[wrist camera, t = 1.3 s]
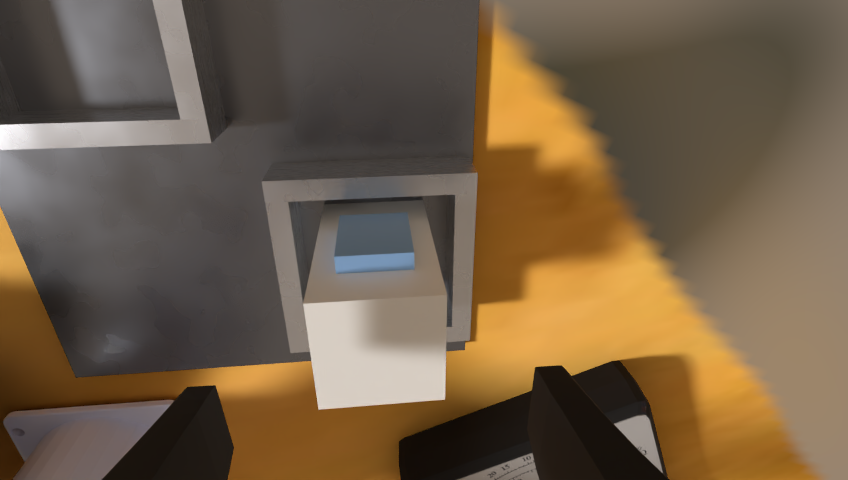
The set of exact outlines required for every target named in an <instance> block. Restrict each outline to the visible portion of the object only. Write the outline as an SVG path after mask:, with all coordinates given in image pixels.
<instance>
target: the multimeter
mask: <svg viewBox="0 0 848 480" xmlns="http://www.w3.org/2000/svg"><path fill="white" fill-rule="evenodd" d="M572 378H573V379H574V380H575V381H576V382H577V383H578V384H579V386H580V387H581V388H582V389H583V390H584V391H585V393H586V394H587V395H588V396H589V397H590V398H591V399H592V401H593V402H594V403H595V404H596V405H597V406H598V407H599V408H600V409H601V411H602V412H603V413H604V414H605V415H606V416H607V417H608V418H609V419H610V420H611V422H612V423H613V424H614V425H615V426H616V427H617V428H618V429H619V430H620V431H621V432H622V433H623V434H624V435H625V436H626V437H627V438H628V439H629V440H630V441H631V442H632V444H633V445H634V446H635V447H636V448H637V449H638V450H639V451H640V452H641V453H642V454H643V455H644V456H645V457H646V458H647V459H648V460H649V461H650V462H651V463H652V464H654V465H655V466H656V467H657V468H658V469H659V470H660V471H661V472H662V473H663V474H664V475H665V476H666V477H667V473H666V469H665V465H664V461H663V457H662V453H661V448H660V444H659V440H658V436H657V432H656V428H655V424H654V420H653V416H652V412H651V408H650V405H649V403H648V401H647V399H646V397H645V396H644V394H643V392H642V391H641V389H640V387H639V385H638V384H637V382H636V381H635V380H634V378H633V377H632V376H631V374H630V373H629V372H628V371H627V369H626V368H625V367H624V366H623V365H622V363H621V362H620V361H611V362H609V363H606V364H603V365H600V366H598V367H595V368H592V369H590V370H587V371H584V372H581V373H579V374H576V375H573V376H572ZM531 395H532V391H530V392H527V393H525V394H522V395H519V396H516V397H514V398H511V399H508V400H506V401H503V402H500V403H497V404H495V405H492V406H489V407H487V408H484V409H481V410H478V411H476V412H473V413H470V414H468V415H465V416H462V417H459V418H457V419H454V420H451V421H449V422H446V423H443V424H441V425H438V426H435V427H432V428H430V429H427V430H424V431H422V432H419V433H416V434H413V435H411V436H408V437H405V438H404V439H402V440H401V441H399V468H400V475H401V480H539V477H538V474H537V470H536V466H535V462H534V458H533V454H532V449H531V445H530V440H529V436H528V431H527V425H528V417H529V410H530V402H531ZM667 478H668V477H667Z"/></svg>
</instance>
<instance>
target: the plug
mask: <svg viewBox="0 0 848 480" xmlns="http://www.w3.org/2000/svg"><path fill="white" fill-rule="evenodd" d="M303 306H304V313H305V320H306V327H307V334H308V341H309V348H310V354H311V361H312V368H313V375H314V382H315V389H316V396H317V403H318V410H321V409H333V408H346V407H358V406H371V405H383V404H396V403H408V402H421V401H433V400H445V382H446V329H447V292H446V289H445V285H444V281H443V277H442V273H441V269H440V265H439V261H438V257H437V253H436V249H435V245H434V241H433V238H432V234H431V230H430V226H429V222H428V218H427V214H426V210H425V206H424V202H423V200H414V201H392V202H369V203H346V204H324V208H323V212H322V217H321V222H320V226H319V231H318V236H317V241H316V245H315V250H314V255H313V260H312V264H311V269H310V274H309V279H308V283H307V288H306V293H305V297H304V302H303Z"/></svg>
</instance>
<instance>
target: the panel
mask: <svg viewBox="0 0 848 480" xmlns="http://www.w3.org/2000/svg"><path fill="white" fill-rule="evenodd" d="M478 19H479V0H0V207H1V209H2V211H3V213H4V216H5V218H6V220H7V222H8V225H9V227H10V229H11V231H12V234H13V236H14V238H15V241H16V243H17V245H18V247H19V250H20V252H21V254H22V256H23V259H24V261H25V263H26V265H27V268H28V270H29V272H30V275H31V277H32V279H33V281H34V284H35V286H36V288H37V290H38V293H39V295H40V297H41V299H42V302H43V304H44V306H45V309H46V311H47V313H48V315H49V318H50V320H51V322H52V324H53V327H54V329H55V331H56V333H57V336H58V338H59V340H60V343H61V345H62V347H63V349H64V352H65V354H66V356H67V358H68V361H69V363H70V365H71V368H72V370H73V372H74V374H75V377H76V378H77V377H91V376H105V375H119V374H133V373H147V372H161V371H175V370H189V369H203V368H217V367H231V366H245V365H259V364H273V363H287V362H302V361H311V354H310V348H309V341H308V334H307V327H306V320H305V313H304V306H303V302H304V297H305V293H306V288H307V283H308V279H309V274H310V269H311V264H312V260H313V255H314V250H315V245H316V241H317V236H318V231H319V226H320V222H321V217H322V212H323V208H324V204H346V203H369V202H392V201H414V200H423V202H424V206H425V210H426V214H427V218H428V222H429V226H430V230H431V234H432V238H433V241H434V245H435V249H436V253H437V257H438V261H439V265H440V269H441V273H442V277H443V281H444V285H445V289H446V292H447V329H446V351H456V350H465V341H470V329H471V307H472V286H473V265H474V244H475V222H476V201H477V180H478V172H477V171H476V169H475V167H474V166H473V140H474V115H475V91H476V67H477V43H478Z"/></svg>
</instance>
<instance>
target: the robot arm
mask: <svg viewBox="0 0 848 480" xmlns="http://www.w3.org/2000/svg"><path fill="white" fill-rule="evenodd" d="M3 424H4V426H5V428H6V430H7V432H8V433H9V435H10V437H11V439H12V440H13V442H14V444H15V446H16V447H17V449H18V451H19V453H20V455H21V456H22V458H23V460H24V462H25V463H24V464H23V466H22V467H21V468H20V470H19V471H18V472H17V474H16V475H15V477H14V478H13V479H12V480H227V479H228V474H229V469H230V464H231V459H232V454H233V449H234V447H233V443H232V440H231V436H230V433H229V430H228V426H227V423H226V420H225V416H224V413H223V410H222V406H221V403H220V399H219V396H218V393H217V389H216V386H198V387H187V388H186V389H185V390H184V391H183V392H182V393H181V394H180V395H179V396H178V397H177V399H176V400H175V401H174V400H158V401H145V402H132V403H119V404H105V405H92V406H79V407H66V408H53V409H40V410H27V411H14V412H11V413H9V414H8V415H7V416H6V417H5V419H4V420H3ZM527 431H528V436H529V440H530V445H531V449H532V454H533V458H534V462H535V466H536V470H537V474H538V477H539V480H669V479H668V478H667V477H666V476H665V475H664V474H663V473H662V472H661V471H660V470H659V469H658V468H657V467H656V466H655V465H654V464H652V463H651V462H650V461H649V460H648V459H647V458H646V457H645V456H644V455H643V454H642V453H641V452H640V451H639V450H638V449H637V448H636V447H635V446H634V445H633V444H632V442H631V441H630V440H629V439H628V438H627V437H626V436H625V435H624V434H623V433H622V432H621V431H620V430H619V429H618V428H617V427H616V426H615V425H614V424H613V423H612V422H611V420H610V419H609V418H608V417H607V416H606V415H605V414H604V413H603V412H602V411H601V409H600V408H599V407H598V406H597V405H596V404H595V403H594V402H593V401H592V399H591V398H590V397H589V396H588V395H587V394H586V393H585V391H584V390H583V389H582V388H581V387H580V386H579V384H578V383H577V382H576V381H575V380H574V379H573V378H572V376H571V375H570V374H569V373H568V372H567V371H566V369H565V368H564V367H562V366H544V367H535V373H534V380H533V388H532V395H531V402H530V410H529V417H528V425H527Z"/></svg>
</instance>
